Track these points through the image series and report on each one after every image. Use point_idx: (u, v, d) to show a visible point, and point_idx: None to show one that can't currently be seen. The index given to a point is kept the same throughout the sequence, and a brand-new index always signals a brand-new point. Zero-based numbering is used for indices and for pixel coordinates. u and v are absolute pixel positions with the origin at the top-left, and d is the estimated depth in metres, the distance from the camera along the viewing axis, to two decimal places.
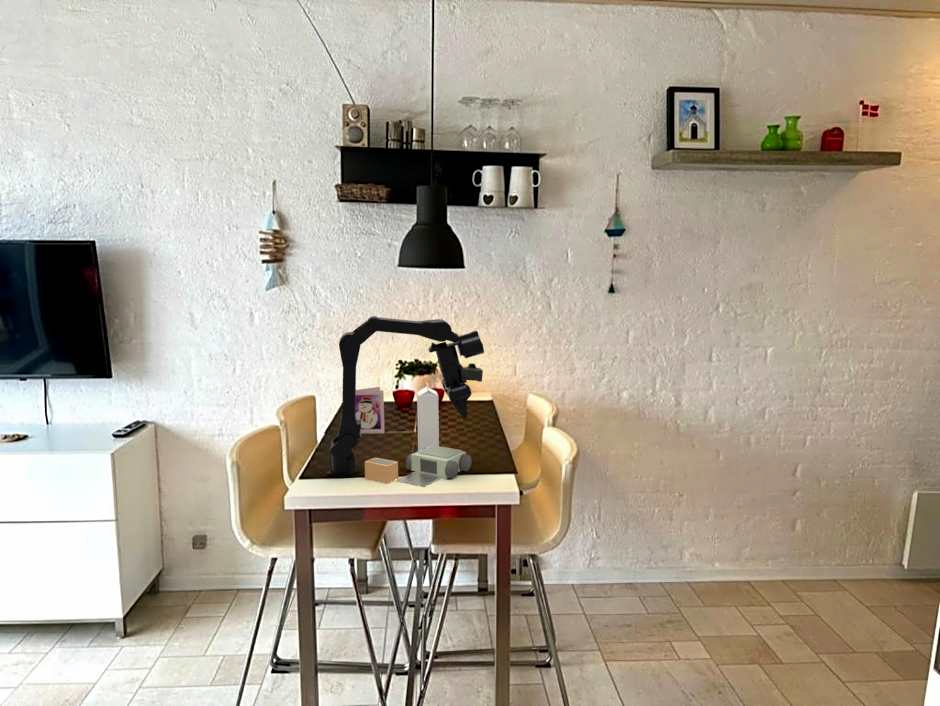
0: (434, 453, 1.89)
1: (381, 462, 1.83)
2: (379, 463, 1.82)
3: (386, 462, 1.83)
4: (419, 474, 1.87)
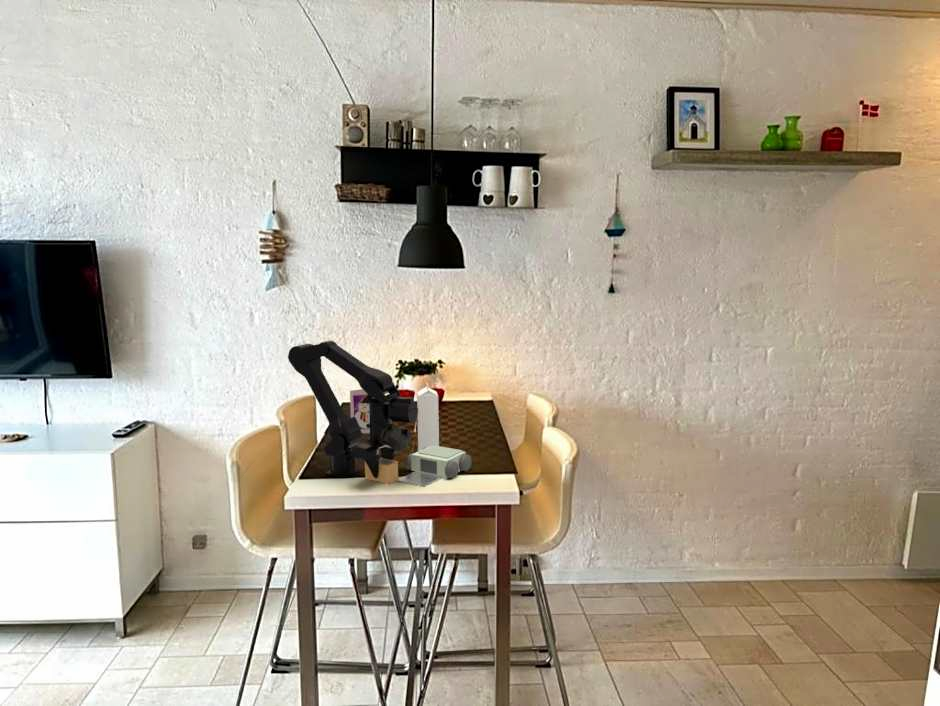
0: (434, 453, 1.89)
1: (381, 461, 1.83)
2: (379, 462, 1.82)
3: (386, 462, 1.83)
4: (419, 474, 1.87)
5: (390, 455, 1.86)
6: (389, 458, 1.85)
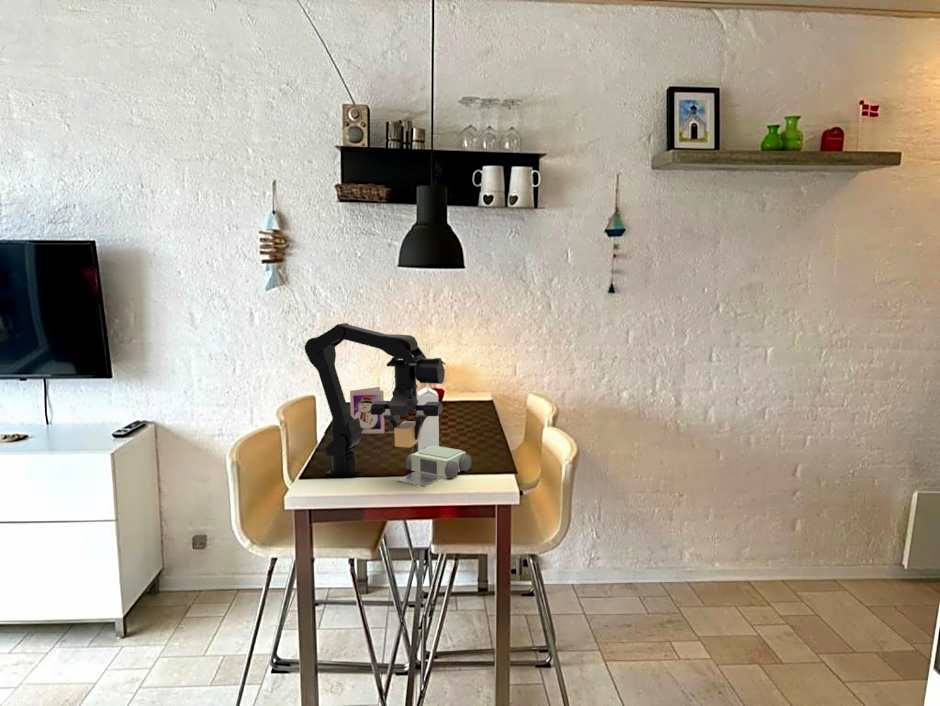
0: (434, 453, 1.89)
1: (403, 425, 1.81)
2: (400, 425, 1.81)
3: (404, 426, 1.79)
4: (419, 474, 1.87)
5: None
6: None
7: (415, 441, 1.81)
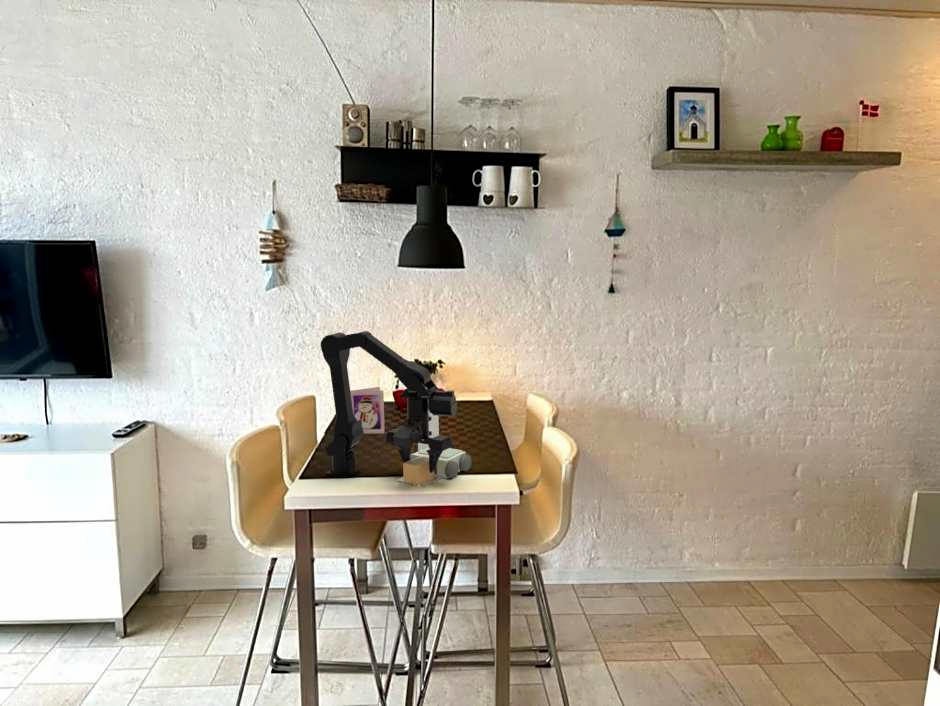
0: None
1: (415, 460, 1.82)
2: (412, 460, 1.83)
3: (414, 462, 1.81)
4: None
5: None
6: None
7: (425, 478, 1.82)
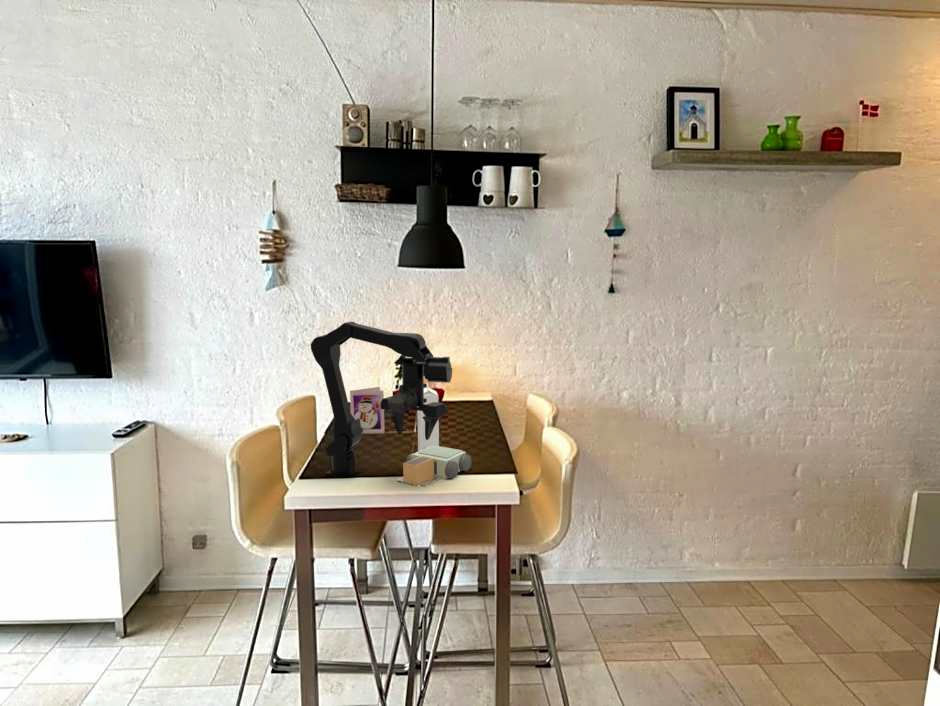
0: (434, 453, 1.89)
1: (415, 460, 1.82)
2: (412, 460, 1.83)
3: (414, 462, 1.81)
4: None
5: None
6: None
7: (425, 478, 1.82)
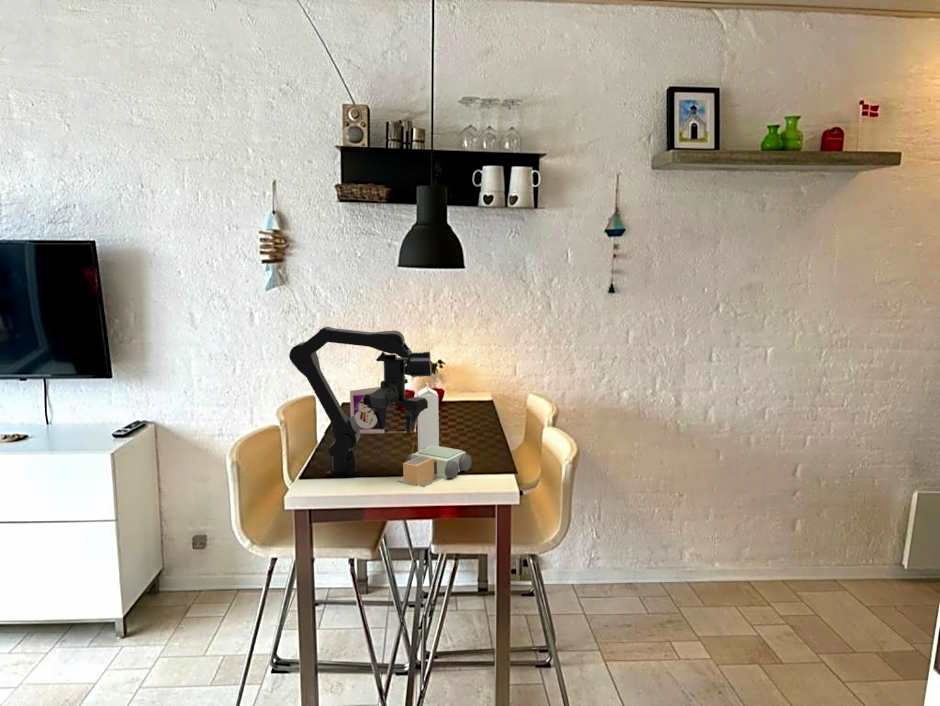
0: (434, 453, 1.89)
1: (415, 460, 1.82)
2: (412, 460, 1.83)
3: (414, 462, 1.81)
4: None
5: None
6: None
7: (425, 478, 1.82)
